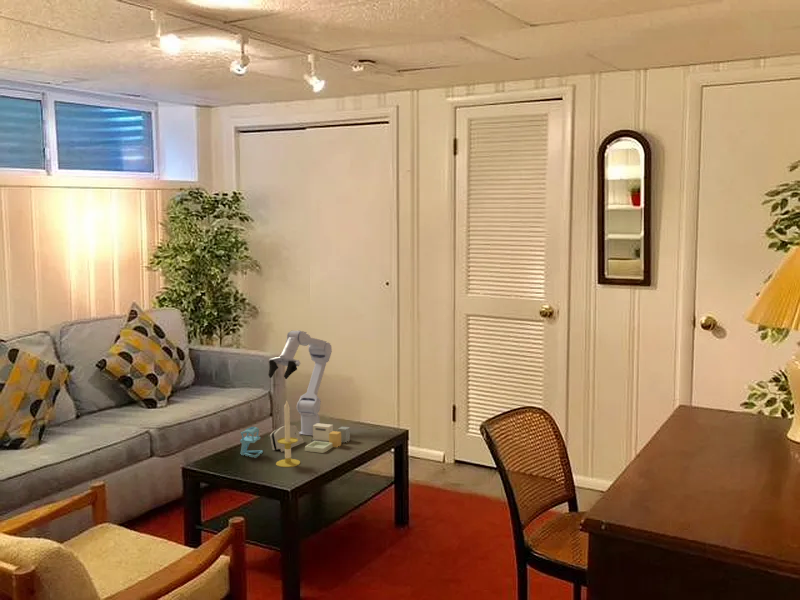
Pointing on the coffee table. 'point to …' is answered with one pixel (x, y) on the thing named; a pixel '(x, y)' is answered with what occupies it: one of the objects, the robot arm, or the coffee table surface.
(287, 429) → the candle
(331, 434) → the ochre block
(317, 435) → the cream unit
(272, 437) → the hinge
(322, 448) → the sage tray
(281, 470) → the coffee table surface
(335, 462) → the coffee table surface
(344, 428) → the slate block
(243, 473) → the coffee table surface
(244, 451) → the chair
